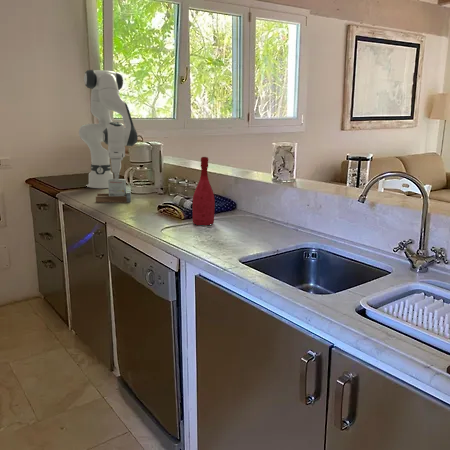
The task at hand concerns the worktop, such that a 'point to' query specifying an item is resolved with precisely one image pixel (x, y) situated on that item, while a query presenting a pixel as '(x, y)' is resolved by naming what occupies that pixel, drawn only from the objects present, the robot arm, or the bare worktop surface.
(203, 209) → the wine bottle
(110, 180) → the ink box
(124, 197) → the guide channel
